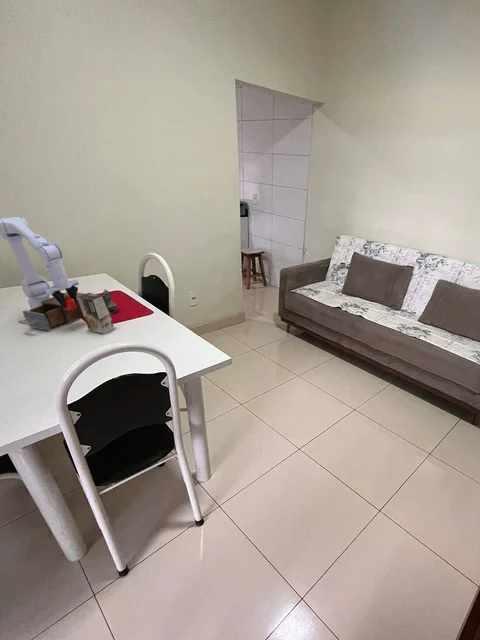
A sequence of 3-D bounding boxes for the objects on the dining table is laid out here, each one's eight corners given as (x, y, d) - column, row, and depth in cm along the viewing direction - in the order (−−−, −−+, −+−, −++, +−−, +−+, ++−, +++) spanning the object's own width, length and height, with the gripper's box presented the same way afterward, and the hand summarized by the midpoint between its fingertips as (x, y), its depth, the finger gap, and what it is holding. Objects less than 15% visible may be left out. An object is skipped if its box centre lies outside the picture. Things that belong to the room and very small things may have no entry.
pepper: (62, 310, 144) (57, 297, 141) (68, 306, 148) (63, 293, 145) (73, 310, 144) (68, 297, 141) (78, 306, 148) (74, 293, 145)
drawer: (38, 334, 141) (31, 319, 137) (18, 330, 143) (10, 315, 139) (76, 317, 157) (70, 303, 153) (57, 314, 159) (52, 300, 155)
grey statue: (113, 314, 163) (106, 291, 157) (102, 313, 164) (95, 290, 157) (120, 310, 168) (114, 287, 161) (110, 308, 169) (103, 286, 162)
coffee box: (115, 328, 150) (105, 295, 142) (103, 334, 145) (92, 299, 136) (99, 325, 153) (88, 292, 144) (88, 330, 147) (76, 296, 139)
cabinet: (69, 323, 153) (61, 305, 148) (48, 319, 156) (40, 301, 151) (95, 311, 166) (89, 294, 161) (75, 307, 168) (69, 291, 163)
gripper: (50, 281, 131) (62, 312, 139) (80, 271, 143) (89, 300, 150) (36, 279, 133) (49, 310, 140) (67, 269, 145) (77, 298, 152)
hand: (69, 305), depth 145 cm, fingers closed on pepper, 4 cm apart
